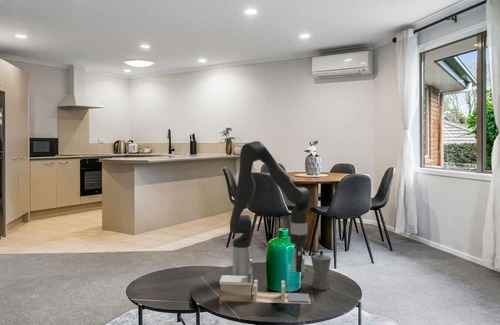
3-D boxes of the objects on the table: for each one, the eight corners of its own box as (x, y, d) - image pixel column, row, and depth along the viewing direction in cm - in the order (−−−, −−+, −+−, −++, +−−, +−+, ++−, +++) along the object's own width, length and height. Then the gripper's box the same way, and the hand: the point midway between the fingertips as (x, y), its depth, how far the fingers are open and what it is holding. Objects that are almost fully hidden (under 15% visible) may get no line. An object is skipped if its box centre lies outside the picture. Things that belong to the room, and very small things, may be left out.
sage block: (292, 268, 180) (292, 255, 180) (303, 268, 180) (303, 255, 179) (292, 271, 175) (293, 258, 175) (304, 272, 175) (304, 258, 174)
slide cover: (222, 277, 184) (222, 266, 184) (252, 278, 183) (252, 267, 183) (219, 284, 175) (219, 272, 175) (250, 285, 174) (251, 273, 174)
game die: (301, 282, 214) (312, 267, 215) (298, 281, 206) (309, 265, 207) (288, 271, 218) (299, 257, 219) (284, 270, 210) (295, 255, 211)
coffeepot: (336, 290, 192) (337, 253, 192) (320, 292, 189) (320, 255, 188) (319, 280, 207) (319, 246, 206) (303, 282, 203) (303, 247, 202)
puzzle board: (222, 294, 186) (222, 277, 186) (308, 296, 183) (308, 279, 183) (218, 304, 174) (218, 286, 174) (310, 307, 171) (310, 289, 171)
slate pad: (287, 294, 183) (287, 293, 182) (307, 294, 182) (307, 293, 182) (288, 301, 174) (288, 300, 174) (309, 302, 173) (309, 301, 173)
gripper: (289, 228, 184) (289, 265, 185) (290, 235, 170) (290, 274, 170) (306, 229, 183) (305, 265, 184) (308, 235, 169) (308, 275, 170)
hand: (298, 269), depth 177 cm, fingers closed on sage block, 5 cm apart
